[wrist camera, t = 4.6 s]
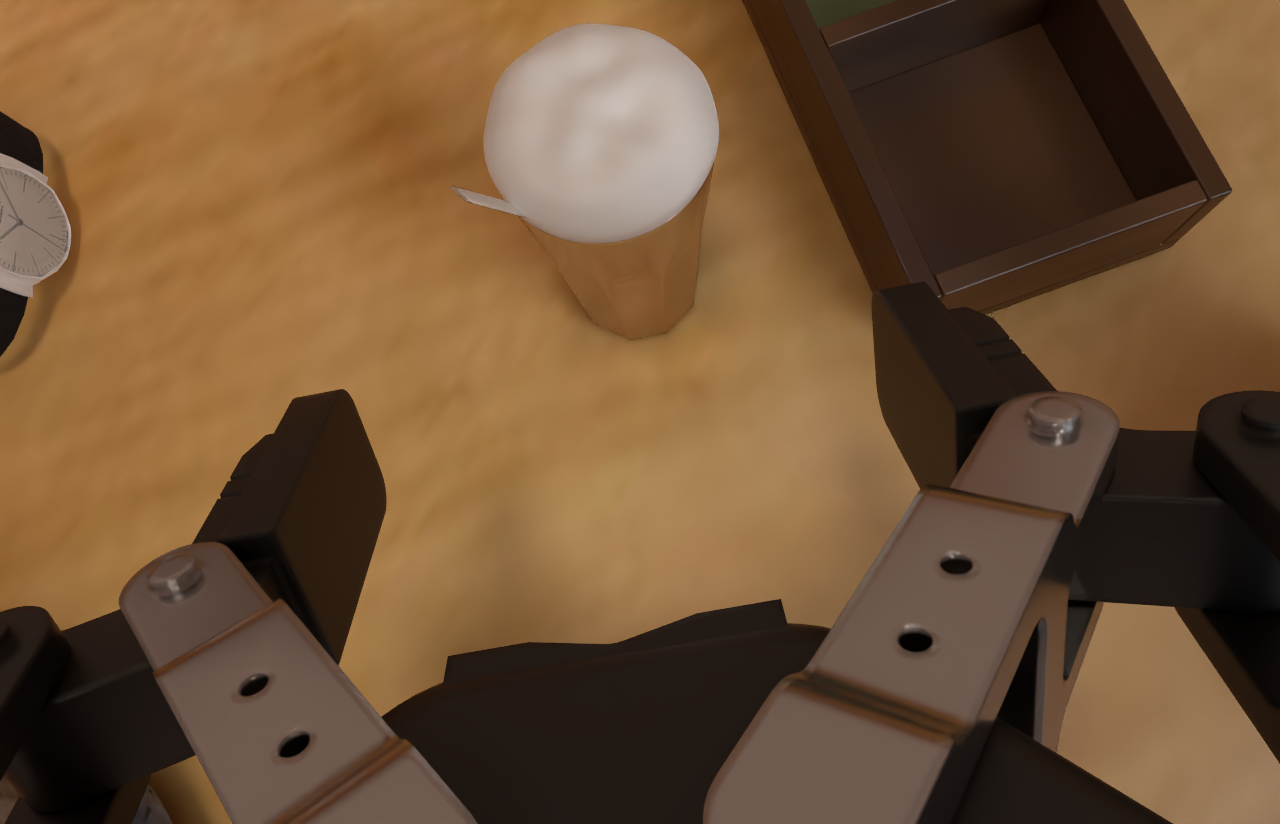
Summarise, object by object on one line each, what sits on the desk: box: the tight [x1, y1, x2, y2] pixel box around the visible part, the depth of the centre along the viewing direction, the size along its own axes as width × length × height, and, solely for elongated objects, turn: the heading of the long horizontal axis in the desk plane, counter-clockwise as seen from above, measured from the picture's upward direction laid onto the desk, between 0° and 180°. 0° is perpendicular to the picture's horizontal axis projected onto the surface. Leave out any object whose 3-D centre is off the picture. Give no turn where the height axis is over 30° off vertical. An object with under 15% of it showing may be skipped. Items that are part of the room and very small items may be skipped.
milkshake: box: [451, 23, 719, 340], centre depth 21 cm, size 4×5×10 cm
